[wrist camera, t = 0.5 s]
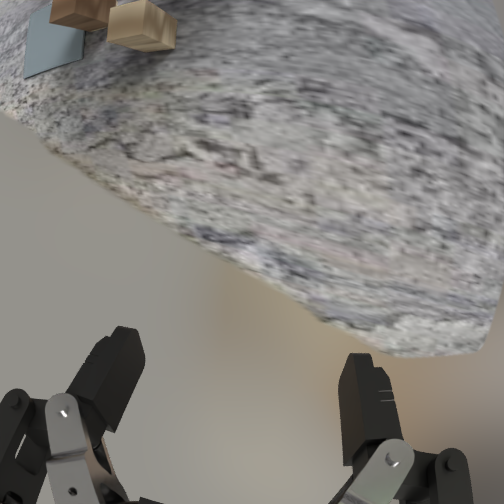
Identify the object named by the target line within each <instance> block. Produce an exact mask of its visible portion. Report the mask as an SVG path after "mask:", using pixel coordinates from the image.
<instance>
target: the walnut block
mask: <svg viewBox="0 0 504 504" xmlns="http://www.w3.org/2000/svg"><path fill="white" fill-rule="evenodd" d="M117 2H118V1H116V0H53V2H52V7H51V13H50V19H49V23H50V24H56V25H61V26H66V27H71V28H75V29H80V30H84V31H88V32H93V31H96V30H100V29H103V28H107V27H108V23H109V15H110V8H112V7H116V6H117Z"/></svg>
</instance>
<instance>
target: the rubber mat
mask: <svg viewBox="0 0 504 504" xmlns="http://www.w3.org/2000/svg"><path fill="white" fill-rule="evenodd" d="M51 7H52V4H50V5H48V6H46V7H44V8H42V9H40V10H38V11H36V12H35V13H33V14H31V15H30V21H29V27H28V34H27V42H26V51H25V62H24V78H23V79H25V78H28V77H30V76H33V75H36V74H38V73H41V72H44V71H46V70H49V69H52V68H55V67H58V66H61V65H64V64H68V63H71V62H74V61H78V60H81V59H83V51H84V40H85V31H84V30H80V29H75V28H71V27H66V26H61V25H56V24H50V23H49V19H50V13H51Z"/></svg>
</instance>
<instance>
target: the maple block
mask: <svg viewBox="0 0 504 504" xmlns="http://www.w3.org/2000/svg"><path fill="white" fill-rule="evenodd" d="M176 30H177V20H176V19H175V18H173V17H172V16H170V15H169V14H167V13H166V12H165V11H163V10H162V9H160V8H159V7H157V6H156V5H154V4H153V3H151V2H149V1H148V0H140V1H136V2H131V3H127V4H123V5H119V6H116V7H112V8H110V15H109V23H108V33H107V42H110V43H114V44H118V45H121V46H125V47H128V48H132V49H135V50H139V51H142V52H152V51H160V50H168V49H175V43H176Z"/></svg>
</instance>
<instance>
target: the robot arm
mask: <svg viewBox="0 0 504 504" xmlns="http://www.w3.org/2000/svg"><path fill="white" fill-rule="evenodd" d="M144 366H145V354H144V350H143V347H142V343H141V340H140V336H139V333H138V331H137V330H136V329H133V328H128V327H123V326H118V327H116V329H115V330H114V332H113V333H112V335H111V337H108V336H105V337H104V338H103V339H101V340H100V341H99V342H97V343H96V344H95V346H94V348H93V349H92V351H91V352H90V355H88V357H87V358H86V360H85V363H83V365H82V366H81V368H80V370H79V371H78V373H77V375H76V376H75V378H74V379H73V381H72V383H71V385H70V386H69V388H68V389H67V391H66V392H65V393H59V394H56V395H54V396H52V397H51V398H50V399H49V400H43V399H33V398H30V397H29V396H28V394H27V393H26V392H25V391H24V390H22V389H13V390H11V391H9V392H8V393H7V394H6V395H5V396H4V398H3V400H2V401H1V403H0V504H36V502H37V499H38V496H39V493H40V490H41V487H42V485H43V482H44V479H45V477H46V474H47V472H48V476H49V481H50V485H51V489H52V493H53V497H54V501H55V504H163V503H159V502H156V501H152V500H149V499H146V498H142V497H140V500H139V501H129V499H128V496H127V494H126V492H125V490H124V488H123V486H122V485H121V483H120V482H119V480H118V478H117V476H116V474H115V471H114V468H113V466H112V463H111V460H110V457H109V454H108V451H107V448H106V444H105V441H104V438H103V434H104V432H105V430H107V431H110V432H113V433H115V431H116V429H117V427H118V425H119V422H120V420H121V418H122V415H123V413H124V411H125V408H126V407H127V404H128V402H129V400H130V398H131V395H132V393H133V391H134V389H135V387H136V384H137V382H138V380H139V378H140V376H141V374H142V371H143V369H144ZM338 395H339V407H340V419H341V432H342V446H343V466H353V474H352V475H351V477H350V478H349V479H348V481H347V482H346V483H345V484H344V485H343V487H342V488H341V489H340V490H339V492H338V493H337V494H336V495H335V496H334V497H333V499H332V500H331V501H330V502H329V503H328V504H389V503H390V502H391V500H392V499H398V500H399V504H473V495H472V487H471V480H470V474H469V468H468V463H467V459H466V456H465V455H464V454H463V453H462V452H461V451H460V450H458V449H455V448H448V449H445V450H443V451H442V452H441V453H440V454H431V453H425V452H419V451H416V450H413V449H412V447H411V446H410V445H409V444H408V443H407V442H405V441H404V439H403V436H402V433H401V427H400V422H399V418H398V413H397V408H396V404H395V401H394V395H393V392H392V387H391V383H390V379H389V377H388V375H387V374H386V373H385V371H384V370H383V368H382V367H374V366H373V361H372V357H371V355H370V354H369V353H350V354H349V356H348V358H347V361H346V364H345V366H344V369H343V371H342V374H341V376H340V380H339V385H338ZM24 434H25V435H26V438H25V439H24V442H23V444H22V446H21V449H20V450H19V453H18V455H17V457H16V459H15V454H16V452H17V449H18V447H19V445H20V443H21V440H22V438H23V436H24Z"/></svg>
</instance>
